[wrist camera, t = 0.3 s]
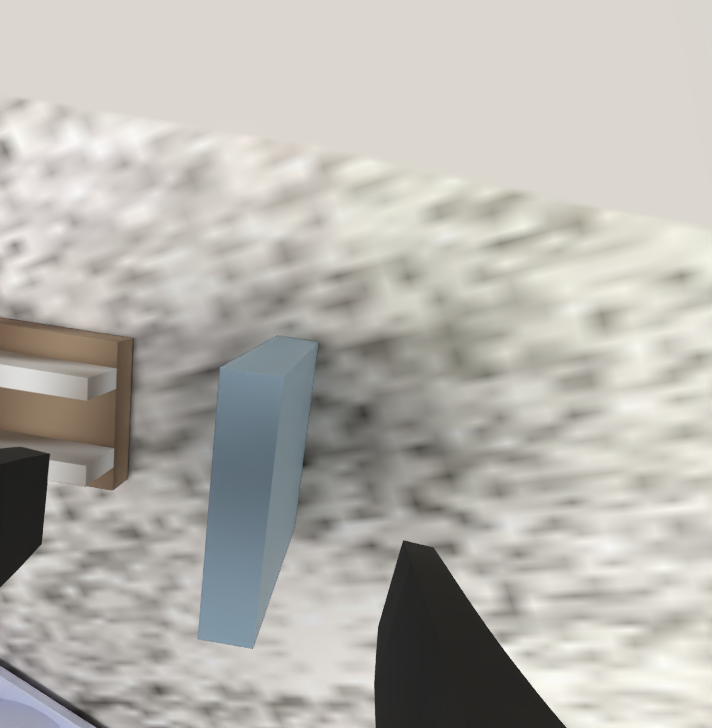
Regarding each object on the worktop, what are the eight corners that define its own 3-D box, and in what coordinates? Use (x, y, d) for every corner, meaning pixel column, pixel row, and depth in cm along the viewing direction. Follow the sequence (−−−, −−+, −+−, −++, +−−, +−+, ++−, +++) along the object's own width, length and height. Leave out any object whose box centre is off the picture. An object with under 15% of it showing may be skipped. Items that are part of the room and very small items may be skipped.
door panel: (294, 527, 18) (252, 648, 12) (257, 521, 18) (197, 639, 12) (318, 341, 16) (283, 377, 10) (277, 335, 16) (220, 367, 11)
